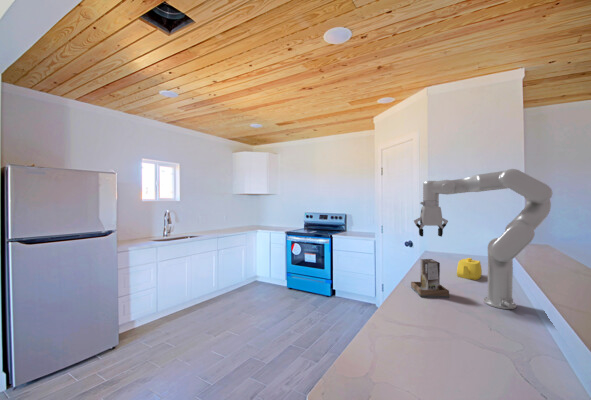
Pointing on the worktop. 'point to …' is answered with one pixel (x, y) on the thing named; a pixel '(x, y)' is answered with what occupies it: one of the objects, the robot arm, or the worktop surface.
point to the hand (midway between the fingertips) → (430, 236)
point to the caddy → (430, 291)
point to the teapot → (469, 269)
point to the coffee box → (430, 274)
